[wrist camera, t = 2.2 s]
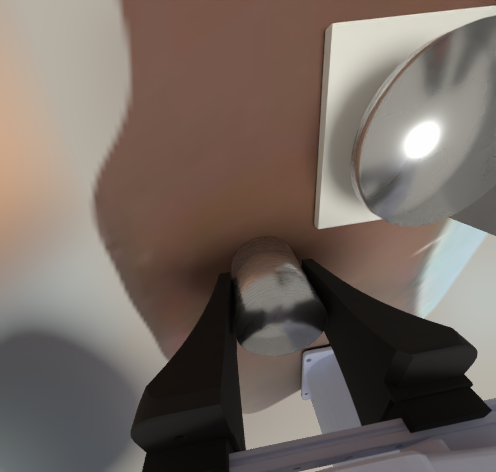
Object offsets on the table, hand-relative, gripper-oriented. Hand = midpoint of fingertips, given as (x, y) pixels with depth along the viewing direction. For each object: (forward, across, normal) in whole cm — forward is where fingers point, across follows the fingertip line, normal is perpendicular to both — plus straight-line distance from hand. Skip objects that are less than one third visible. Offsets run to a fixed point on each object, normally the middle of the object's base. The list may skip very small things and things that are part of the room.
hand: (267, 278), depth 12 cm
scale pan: (-1, -7, -7) cm, 10 cm away
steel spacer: (+2, 0, 0) cm, 2 cm away
